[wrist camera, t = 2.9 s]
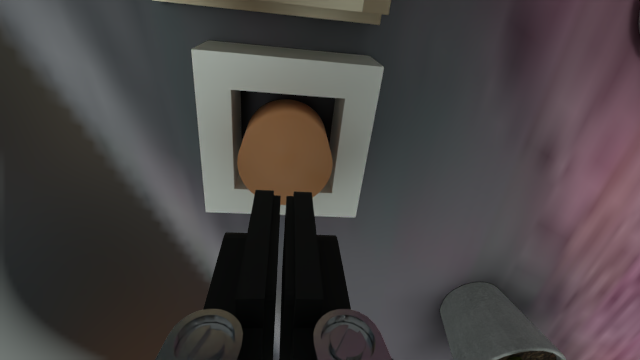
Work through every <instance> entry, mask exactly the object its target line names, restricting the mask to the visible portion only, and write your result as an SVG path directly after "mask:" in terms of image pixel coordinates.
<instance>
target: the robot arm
mask: <svg viewBox="0 0 640 360" xmlns="http://www.w3.org/2000/svg"><path fill="white" fill-rule="evenodd" d="M280 202H281V196H279V195H274V191H273V190H255V195H254V201H253V206H252V212H251V217H250V222H249V228H248V233H225V235H224V238H223V241H222V245H221V248H220V252H219V256H218V259H217V263H216V266H215V270H214V273H213V277H212V281H211V284H210V288H209V292H208V295H207V298H206V302H205V306H204V309H203V310H201V311H197V312H194V313H192V314H191V315H188V316H187V317H185V318H184V319H182V320H181V321H180V322H179V323H178V324H176V325H175V327H174V328H173V329H172V331H171V332H170V334H169V335H168V337H167V339H166V341H165V343H164V344H163V346H162V348H161V350H160V352H159V354H158V356H157V358H156V359H155V360H273V344H274V324H275V304H276V284H277V264H278V243H279V222H280ZM279 360H393V359H392V358H391V356H390V354H389V352H388V349H387V347H386V345H385V342H384V340H383V338H382V335H381V333H380V331H379V330H378V328H377V326H376V325H375V324H374V323H373V322H372V321H371V320H370V319H369V318H368V317H367V316H365V315H363V314H361V313H360V312H357V311H354V310H351V307H350V302H349V297H348V292H347V286H346V281H345V276H344V271H343V266H342V261H341V255H340V250H339V245H338V240H337V237H336V236H331V235H316V226H315V217H314V208H313V198H312V192H296V191H294V194H293V196H287V197H286V213H285V231H284V248H283V266H282V294H281V326H280V358H279Z"/></svg>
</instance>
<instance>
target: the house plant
mask: <svg viewBox="0 0 640 360" xmlns="http://www.w3.org/2000/svg"><path fill="white" fill-rule="evenodd" d="M440 314H441V318H442V321H443V325H444V328H445V332H446V336H447V339H448V343H449V347H450V350H451V354H452V357H453V360H566V358H565V357H564V355H563V354H562V353H561V352H560V351H559V350H558V349H557V348H556V347H555V346H554V345H553V344H552V343H551V342H550V341H549V340H548V339H547V338H546V337H545V336H544V335H543V334H542V333H541V332H540V331H539V330H538V329H537V328H536V327H535V326H534V325H533V324H532V323H531V321H530V320H529V319H528V318H527V317H526V316H525V315H524V314H523V313H522V312H521V311H520V310H519V309H518V308H517V307H516V306H515V305H514V304H513V303H512V302H511V301H510V300H509V299H508V298H507V297H506V296H505V295H504V294H503V293H502V292H501V291H500V290H499V289H498V288H497V287H495V286H494V285H492V284H489V283H486V282H475V283H469V284H466V285H463V286H460V287H458V288H457V289H455V290H453V291H452V292H450V293H449V294H448V295H447V296H446V298H445V299H444V301H443V303H442V305H441V308H440Z"/></svg>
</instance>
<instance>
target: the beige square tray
mask: <svg viewBox="0 0 640 360" xmlns="http://www.w3.org/2000/svg"><path fill="white" fill-rule="evenodd" d="M154 1H163V2H172V3H182V4H191V5H200V6H209V7H219V8H228V9H237V10H246V11H255V12H265V13H274V14H283V15H292V16H302V17H311V18H320V19H329V20H339V21H348V22H357V23H366V24H376V25H380V21H381V15H382V14H384V15H389V9H390V4H391V0H154Z"/></svg>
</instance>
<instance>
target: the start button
mask: <svg viewBox="0 0 640 360" xmlns="http://www.w3.org/2000/svg"><path fill="white" fill-rule="evenodd" d="M237 165H238V171H239V175H240V177H241V180H242V181H243V183H244V185H245V186H246V187H247V188H248V189H249V190H250V191H251V192H252V193H253V194H254V195H255V190H273V191H274V195H279V196H281V202H280V205H286V197H287V196H293V194H294V191H296V192H312V198H313V197H314V196H316V195H317V194H318V193H319V192H320V191H321V190H322V189H323V188H324V187H325V185H326V184H327V182H328V180H329V178H330V176H331V172H332V165H333V161H332V155H331V150H330V146H329V142H328V138H327V134H326V131H325V127H324V124H323V122H322V120H321V118H320V117H319V115H318V114H317V113H316V112H315V111H314V110H313V109H312V108H311V107H309V106H308V105H306V104H304V103H302V102H299V101H296V100H290V99H280V100H275V101H271V102H269V103H267V104H265V105H263V106H262V107H260V108H259V109H258V110H257V111H256V112H255V113H254V114H253V116H252V117H251V119H250V121H249V123H248V126H247V129H246V132H245V135H244V138H243V141H242V144H241V147H240V150H239V153H238V159H237Z"/></svg>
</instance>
